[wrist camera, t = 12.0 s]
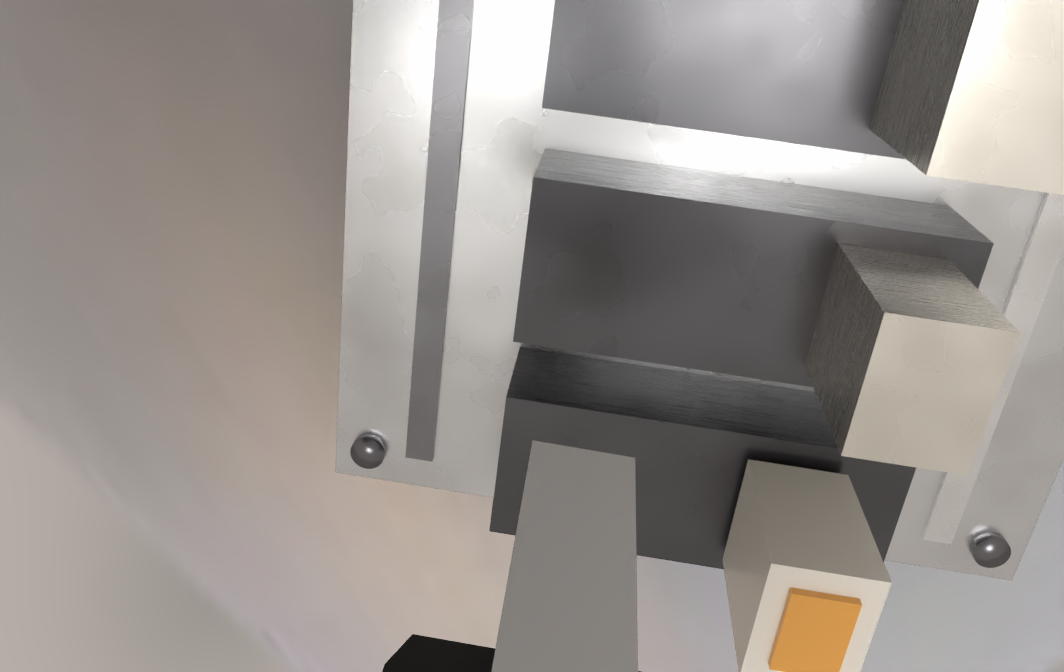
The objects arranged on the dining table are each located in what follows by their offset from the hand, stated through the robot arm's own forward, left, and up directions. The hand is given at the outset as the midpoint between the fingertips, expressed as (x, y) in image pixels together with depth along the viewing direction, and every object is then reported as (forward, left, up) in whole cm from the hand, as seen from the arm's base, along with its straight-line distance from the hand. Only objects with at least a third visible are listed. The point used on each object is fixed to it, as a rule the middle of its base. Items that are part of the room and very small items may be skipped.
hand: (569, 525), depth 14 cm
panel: (+3, +1, -13) cm, 14 cm away
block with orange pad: (+5, -4, -8) cm, 11 cm away
